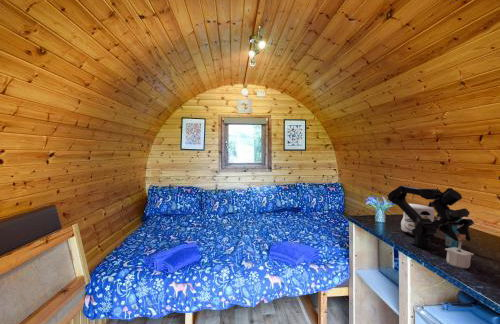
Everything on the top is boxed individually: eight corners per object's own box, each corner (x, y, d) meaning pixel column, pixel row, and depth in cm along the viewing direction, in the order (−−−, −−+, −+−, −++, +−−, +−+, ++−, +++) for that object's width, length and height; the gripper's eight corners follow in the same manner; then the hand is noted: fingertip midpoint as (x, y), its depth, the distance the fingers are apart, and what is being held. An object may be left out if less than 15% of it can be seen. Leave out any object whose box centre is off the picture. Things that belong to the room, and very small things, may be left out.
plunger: (448, 251, 113) (450, 232, 113) (455, 250, 115) (457, 231, 115) (462, 257, 108) (464, 236, 108) (469, 255, 110) (471, 235, 110)
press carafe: (442, 261, 114) (444, 248, 114) (456, 258, 118) (457, 246, 118) (462, 269, 107) (464, 255, 107) (475, 266, 111) (477, 253, 110)
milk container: (406, 237, 145) (409, 207, 144) (396, 228, 162) (398, 202, 161) (439, 241, 141) (442, 211, 140) (425, 232, 158) (428, 205, 157)
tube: (459, 247, 133) (463, 213, 132) (459, 250, 130) (463, 215, 129) (442, 243, 138) (446, 210, 137) (441, 245, 135) (445, 211, 134)
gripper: (439, 201, 113) (460, 232, 103) (472, 202, 116) (496, 233, 106) (422, 213, 121) (441, 243, 111) (454, 213, 124) (474, 243, 114)
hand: (463, 240), depth 110 cm, fingers open, 6 cm apart
